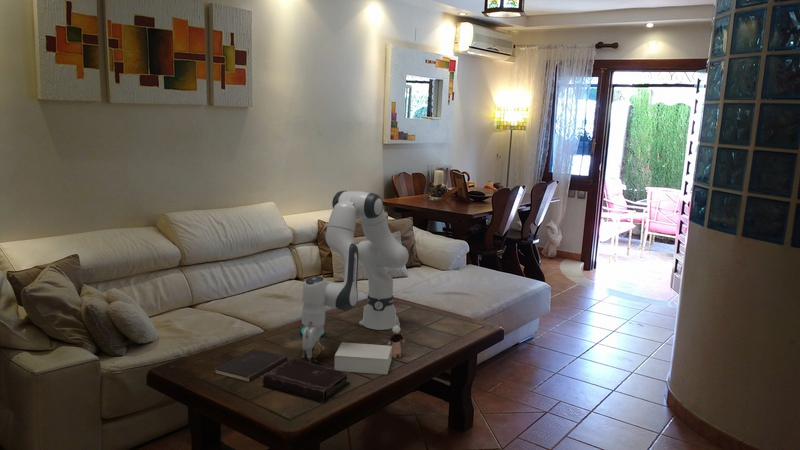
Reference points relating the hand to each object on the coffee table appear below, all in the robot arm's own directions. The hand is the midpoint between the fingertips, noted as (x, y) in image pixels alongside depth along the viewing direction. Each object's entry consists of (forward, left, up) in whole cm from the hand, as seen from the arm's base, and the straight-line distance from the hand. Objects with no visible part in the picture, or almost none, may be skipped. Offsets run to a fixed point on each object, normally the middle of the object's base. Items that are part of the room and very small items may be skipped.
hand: (312, 353), depth 242 cm
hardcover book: (+10, -21, -4) cm, 23 cm away
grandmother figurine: (-11, +31, -3) cm, 33 cm away
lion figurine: (-1, -1, -4) cm, 4 cm away
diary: (+21, +3, -4) cm, 22 cm away
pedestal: (+1, +20, -3) cm, 20 cm away
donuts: (-29, -7, -4) cm, 30 cm away
